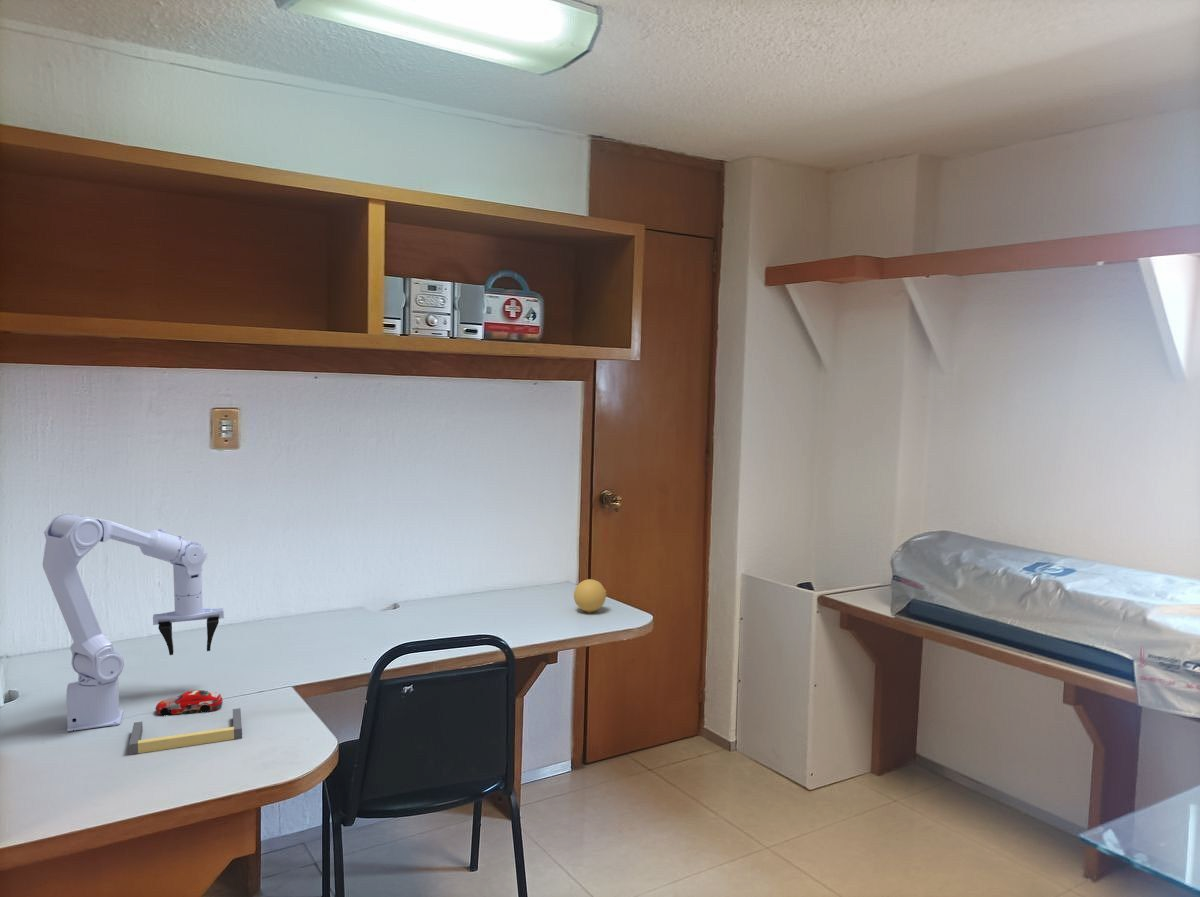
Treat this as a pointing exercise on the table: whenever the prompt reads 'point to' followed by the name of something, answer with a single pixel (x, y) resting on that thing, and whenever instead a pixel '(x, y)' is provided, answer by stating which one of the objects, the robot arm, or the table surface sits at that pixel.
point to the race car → (190, 703)
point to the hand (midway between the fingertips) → (190, 651)
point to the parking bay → (184, 737)
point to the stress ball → (589, 595)
